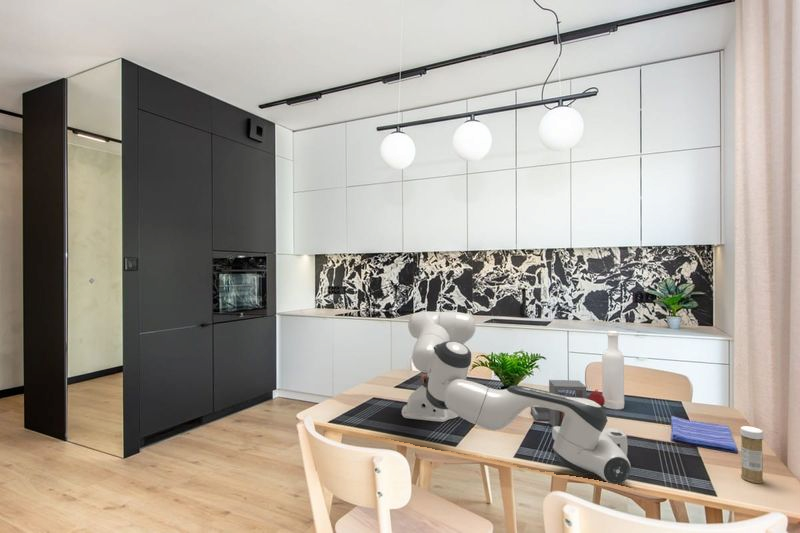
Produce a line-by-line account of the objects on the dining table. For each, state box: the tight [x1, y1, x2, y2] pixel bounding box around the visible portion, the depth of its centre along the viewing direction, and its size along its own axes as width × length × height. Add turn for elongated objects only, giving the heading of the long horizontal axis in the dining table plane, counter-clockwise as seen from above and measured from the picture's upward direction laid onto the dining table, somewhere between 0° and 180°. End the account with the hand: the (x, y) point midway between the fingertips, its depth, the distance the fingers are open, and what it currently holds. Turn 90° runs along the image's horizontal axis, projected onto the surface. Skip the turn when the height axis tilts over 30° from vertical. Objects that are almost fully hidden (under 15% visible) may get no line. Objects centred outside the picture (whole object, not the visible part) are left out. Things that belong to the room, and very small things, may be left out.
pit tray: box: [530, 406, 559, 422], centre depth 158 cm, size 20×9×2 cm, turn 83°
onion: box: [587, 388, 605, 408], centre depth 166 cm, size 6×6×8 cm
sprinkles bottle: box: [739, 425, 764, 484], centre depth 112 cm, size 5×5×14 cm
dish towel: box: [670, 415, 738, 454], centre depth 141 cm, size 17×24×3 cm
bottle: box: [601, 330, 625, 410], centre depth 170 cm, size 8×8×30 cm
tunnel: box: [548, 379, 587, 428], centre depth 149 cm, size 10×8×15 cm
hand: (580, 427), depth 136 cm, fingers open, 8 cm apart
